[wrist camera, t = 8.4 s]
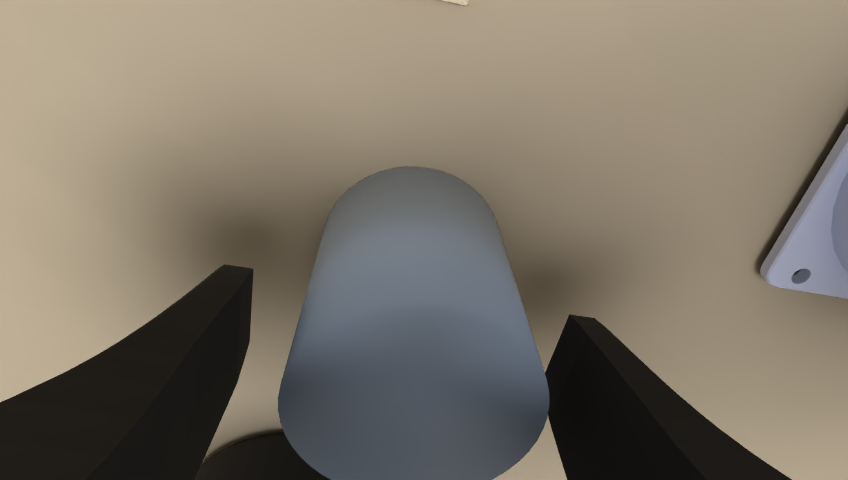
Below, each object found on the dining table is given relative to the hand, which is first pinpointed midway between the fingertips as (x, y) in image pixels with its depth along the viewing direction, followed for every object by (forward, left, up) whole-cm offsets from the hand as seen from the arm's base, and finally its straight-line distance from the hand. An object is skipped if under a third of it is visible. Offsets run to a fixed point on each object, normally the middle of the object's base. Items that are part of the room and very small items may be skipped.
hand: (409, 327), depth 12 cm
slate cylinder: (0, 0, -4) cm, 4 cm away
